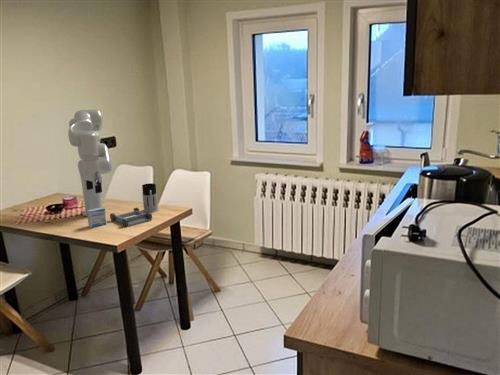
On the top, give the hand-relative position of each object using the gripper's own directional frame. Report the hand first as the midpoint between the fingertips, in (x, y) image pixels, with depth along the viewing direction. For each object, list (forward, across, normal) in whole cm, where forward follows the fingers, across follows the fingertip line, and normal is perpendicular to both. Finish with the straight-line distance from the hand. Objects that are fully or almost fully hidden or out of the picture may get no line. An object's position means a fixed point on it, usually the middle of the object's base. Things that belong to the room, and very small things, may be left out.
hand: (94, 190), depth 213 cm
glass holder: (+19, +1, +31) cm, 36 cm away
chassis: (+18, +6, +16) cm, 25 cm away
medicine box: (+18, 0, 0) cm, 19 cm away
